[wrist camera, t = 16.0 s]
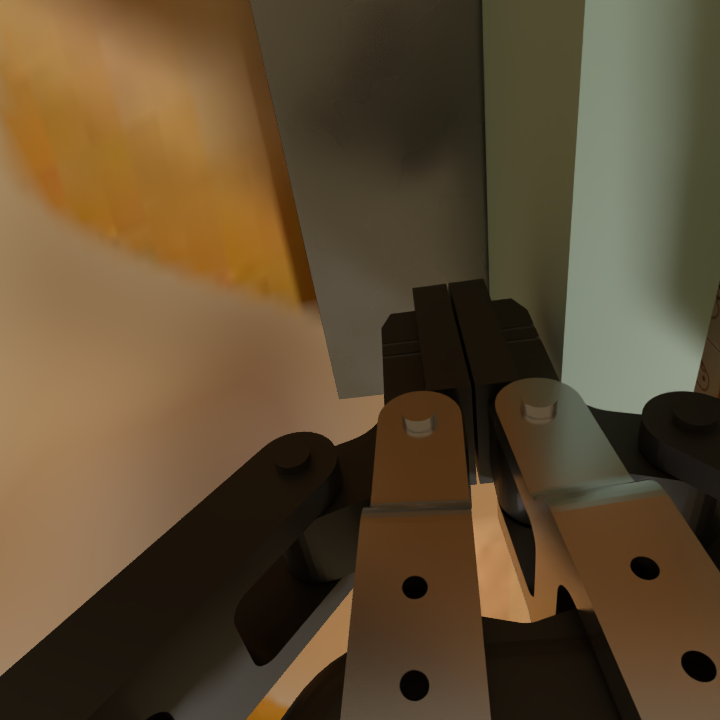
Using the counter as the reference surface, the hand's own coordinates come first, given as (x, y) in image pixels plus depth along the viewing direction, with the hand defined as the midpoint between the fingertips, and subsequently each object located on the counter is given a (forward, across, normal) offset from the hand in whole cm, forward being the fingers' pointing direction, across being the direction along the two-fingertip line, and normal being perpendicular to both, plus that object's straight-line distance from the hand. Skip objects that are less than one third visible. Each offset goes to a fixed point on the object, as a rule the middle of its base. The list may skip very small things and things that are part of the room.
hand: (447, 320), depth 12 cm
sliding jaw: (+6, -3, 0) cm, 7 cm away
